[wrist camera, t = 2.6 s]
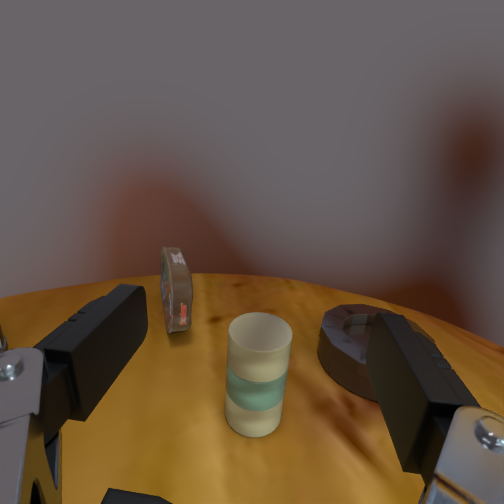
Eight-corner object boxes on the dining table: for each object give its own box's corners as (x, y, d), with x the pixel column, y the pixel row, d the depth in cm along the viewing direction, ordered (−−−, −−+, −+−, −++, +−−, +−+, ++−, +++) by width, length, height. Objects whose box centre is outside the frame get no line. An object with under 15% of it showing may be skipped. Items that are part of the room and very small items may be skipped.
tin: (160, 288, 47) (157, 238, 44) (180, 286, 48) (178, 237, 45) (169, 348, 34) (166, 283, 31) (196, 343, 35) (195, 281, 32)
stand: (308, 379, 31) (314, 349, 29) (325, 320, 41) (329, 296, 40) (436, 422, 27) (450, 389, 26) (419, 345, 38) (427, 319, 36)
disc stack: (214, 423, 25) (216, 339, 22) (238, 381, 30) (243, 306, 27) (271, 447, 24) (282, 359, 21) (287, 399, 28) (298, 321, 25)
